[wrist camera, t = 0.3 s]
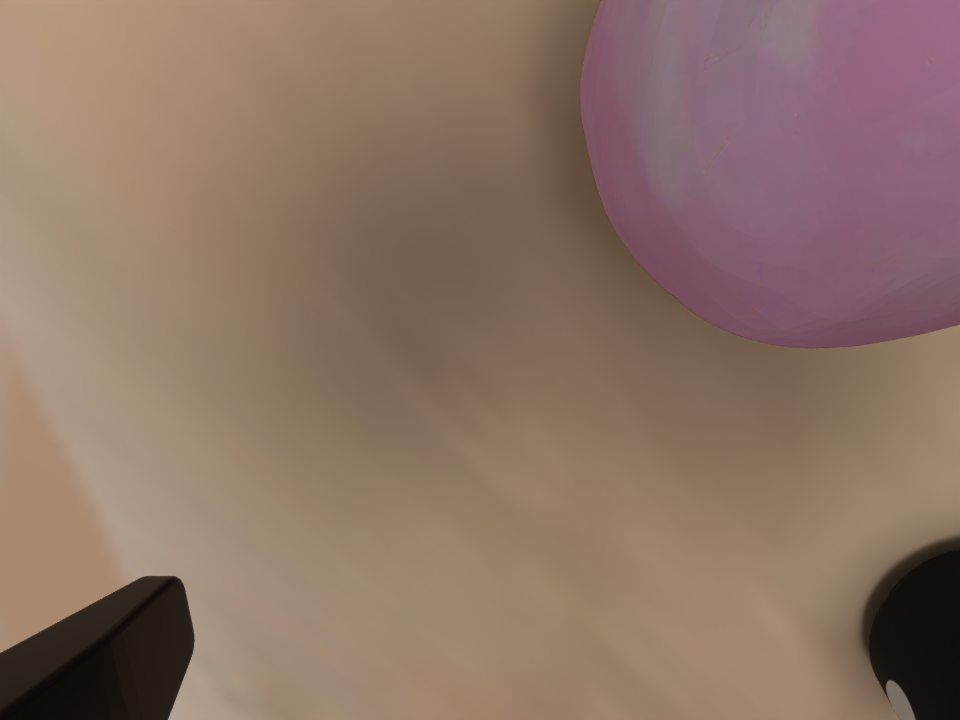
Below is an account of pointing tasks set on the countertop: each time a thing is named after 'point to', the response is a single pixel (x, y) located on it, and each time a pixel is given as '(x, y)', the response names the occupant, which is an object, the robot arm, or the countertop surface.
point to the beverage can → (921, 642)
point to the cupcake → (784, 160)
